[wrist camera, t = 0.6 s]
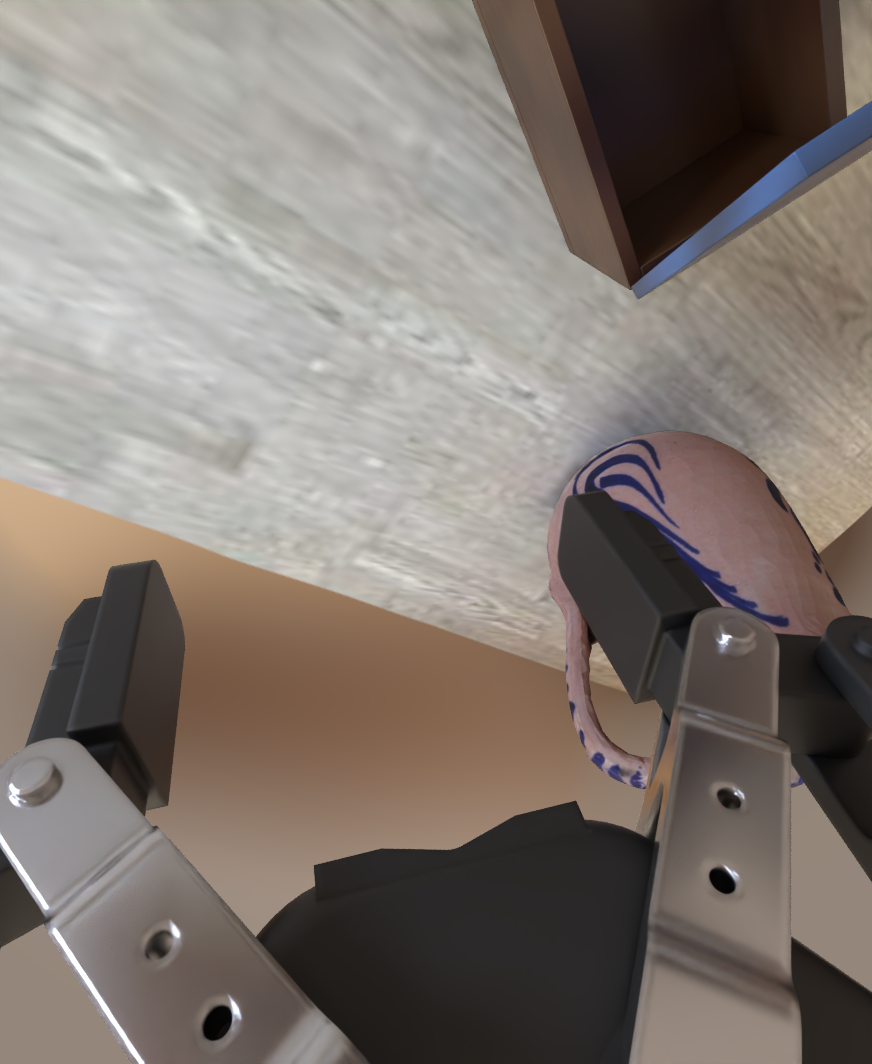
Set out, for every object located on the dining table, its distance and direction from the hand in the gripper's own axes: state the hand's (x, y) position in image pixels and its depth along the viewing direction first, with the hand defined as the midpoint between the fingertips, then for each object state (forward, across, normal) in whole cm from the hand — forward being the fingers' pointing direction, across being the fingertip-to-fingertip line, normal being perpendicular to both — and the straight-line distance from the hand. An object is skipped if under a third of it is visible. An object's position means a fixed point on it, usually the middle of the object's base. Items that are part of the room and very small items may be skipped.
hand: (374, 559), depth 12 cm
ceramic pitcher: (+31, -23, +24) cm, 45 cm away
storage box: (+31, -19, -8) cm, 37 cm away
